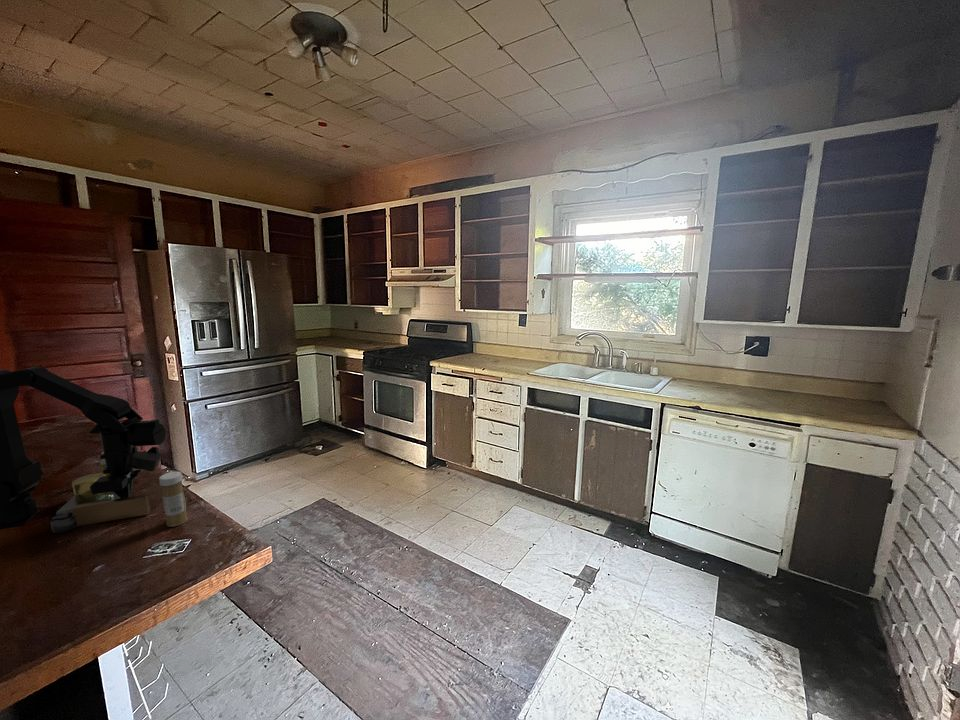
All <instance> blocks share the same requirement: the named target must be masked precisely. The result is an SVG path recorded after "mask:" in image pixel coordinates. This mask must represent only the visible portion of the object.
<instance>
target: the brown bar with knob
mask: <svg viewBox="0 0 960 720" xmlns="http://www.w3.org/2000/svg"><path fill="white" fill-rule="evenodd" d="M150 513H151V507H150V501H149V494H141V495H134V496H130V497H127V498H120V499H114V500H107V501H101V502H94V503H87V504H81V505H75V506H74V507H73V508H72V510H65V511H62V512H59V513H57V514H56V513H55V515H54V516H53V517H52V518H51V519H50V521H49V523H50V527H51V532H52V533H53V534H60V533H64V532H69V531H71V530H73V529H76V528H77V527H80V526H87V525H92V524H93V525H94V524H98V523H99V524H100V523H104V522H110V521H118V520H123V519H127V518H128V519H129V518H135V517H141V516H146V515H150Z"/></svg>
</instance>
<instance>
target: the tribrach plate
mask: <svg viewBox="0 0 960 720" xmlns="http://www.w3.org/2000/svg"><path fill="white" fill-rule="evenodd" d="M103 476H106V474H103V473H102V472H100V473H98V472H97V473H93V474H87V475H84V476H79V478H76V479H75V480H73V481H72V482H71V485H72V490H73V491H72V492H73V497H71V498H70V500H68V501H67V502H66V503H65V504H64V505H62V506H61V507H60V508H59V509H58V510H57V511H56V512H55V515H56V514H57V513H59V512H62V511H65V510H72V508H73V507H74V506H75V505H81V504H87V503H94V502H101V501H107V500H114V499H120V497H119V496H118V495H116V494H115V493H114V492H113V491H112V492H106V493H99V494H91V490H90V486H91V485H92V484H93V483H94V482H95V481H97V480H98V479H99V478H100V477H103ZM132 489H133V486H132Z"/></svg>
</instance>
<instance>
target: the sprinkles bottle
mask: <svg viewBox="0 0 960 720" xmlns="http://www.w3.org/2000/svg"><path fill="white" fill-rule="evenodd" d="M158 481H159V486H160V488H161V495H162V503H163V508H164V514H165V519H166V526H167V527H171V528H172V527H173V528H174V527H179V526H181V525H183V524H185V523H186V522H187V521H188V519H189V517H188V515H187V514H188V513H187V504H186V498H185V493H184V488H183V487H184V486H183V482H182V481H183V475H182V472H181V471H169V472H166V473H164V474H161V475H160V476H159V477H158Z"/></svg>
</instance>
